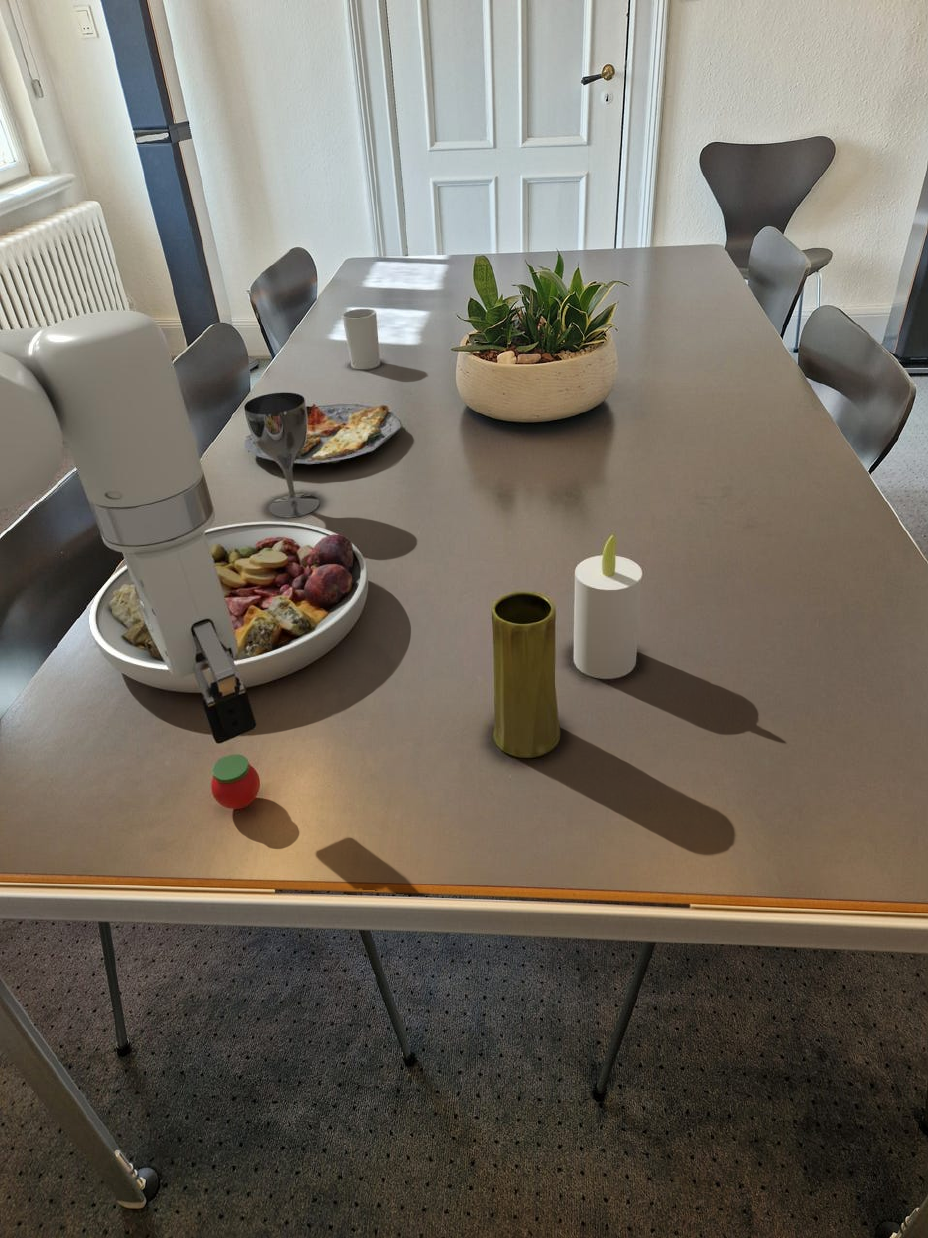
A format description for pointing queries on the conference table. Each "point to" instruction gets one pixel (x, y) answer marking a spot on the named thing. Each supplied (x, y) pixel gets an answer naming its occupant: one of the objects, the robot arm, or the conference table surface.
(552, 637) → the vase
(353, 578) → the bowl
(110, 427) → the robot arm
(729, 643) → the conference table surface
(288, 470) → the wine glass
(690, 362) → the conference table surface
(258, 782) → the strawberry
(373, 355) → the white cup
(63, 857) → the conference table surface
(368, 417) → the food plate
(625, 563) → the candle
